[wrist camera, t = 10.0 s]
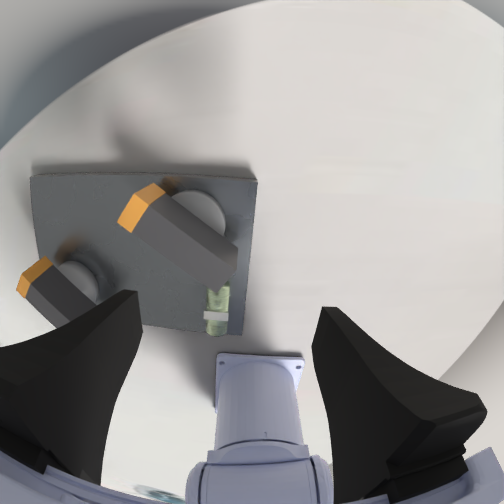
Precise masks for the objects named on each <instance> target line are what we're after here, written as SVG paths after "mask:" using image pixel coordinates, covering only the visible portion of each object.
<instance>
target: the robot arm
mask: <svg viewBox="0 0 504 504" xmlns="http://www.w3.org/2000/svg"><path fill="white" fill-rule="evenodd" d="M142 333H143V329H142V322H141V315H140V307H139V299H138V291H134V290H127V289H123V290H121V291H119V292H118V293H116V294H114V295H113V296H111V297H109V298H108V299H106V300H105V301H103V302H102V303H100V304H99V305H97V306H95V307H94V308H92V309H91V310H89V311H88V312H86V313H84V314H82V315H81V316H79V317H77V318H75V319H74V320H72V321H70V322H69V323H67V324H65V325H63V326H61V327H59V328H57V329H55V330H52V331H50V332H48V333H46V334H43V335H40V336H38V337H35V338H32V339H30V340H27V341H24V342H20V343H17V344H13V345H9V346H5V347H0V504H170V503H164V502H159V501H154V500H150V499H145V498H141V497H137V496H133V495H129V494H125V493H122V492H118V491H115V490H111V489H108V488H105V487H102V486H101V473H102V464H103V456H104V450H105V444H106V439H107V434H108V430H109V425H110V421H111V417H112V413H113V410H114V406H115V402H116V400H117V397H118V394H119V392H120V390H121V387H122V385H123V383H124V380H125V378H126V376H127V374H128V371H129V369H130V367H131V365H132V362H133V360H134V358H135V356H136V353H137V350H138V347H139V344H140V340H141V337H142ZM311 347H312V355H313V362H314V368H315V372H316V376H317V380H318V383H319V387H320V390H321V394H322V398H323V401H324V405H325V409H326V413H327V417H328V423H329V430H330V438H331V448H332V459H333V476H334V477H333V478H334V489H333V482H332V477H331V473H330V469H329V466H328V464H327V462H326V461H325V460H324V459H322V458H321V457H320V456H319V455H313V456H310V455H309V449H308V445H304V441H303V434H302V428H301V422H300V415H299V409H298V403H297V396H296V390H297V387H298V384H299V381H300V378H301V375H302V371H303V368H304V365H305V360H304V358H302V357H279V356H257V355H241V354H228V353H219V354H218V355H217V359H216V398H215V413H216V414H217V422H216V433H215V445H214V450H210V451H208V455H207V462H199V463H197V464H196V466H195V467H194V468H193V469H192V470H191V471H190V473H189V475H188V479H187V483H186V492H185V502H186V504H499V503H500V502H501V501H503V500H504V473H503V471H502V469H501V466H500V464H499V462H498V460H497V458H496V456H495V454H494V452H493V450H492V448H491V447H488V448H486V449H484V450H482V451H481V452H479V453H477V454H475V455H473V456H471V457H470V458H468V459H466V460H465V461H464V458H463V456H462V455H463V454H464V453H465V452H466V449H465V447H464V445H463V444H464V443H465V442H466V440H468V439H469V437H470V436H471V435H472V434H473V433H474V432H475V431H476V430H477V429H478V428H479V427H480V425H481V424H482V423H483V421H484V420H485V418H486V415H487V409H486V408H485V406H484V404H483V403H482V401H481V399H480V398H479V396H478V394H476V393H473V392H469V391H466V390H462V389H459V388H456V387H453V386H451V385H448V384H446V383H443V382H441V381H438V380H436V379H434V378H432V377H430V376H428V375H426V374H424V373H422V372H420V371H418V370H416V369H415V368H413V367H411V366H409V365H408V364H406V363H405V362H403V361H402V360H400V359H399V358H397V357H396V356H394V355H393V354H391V353H390V352H389V351H387V350H386V349H385V348H384V347H382V346H381V345H380V344H378V343H377V342H376V341H375V340H374V339H372V338H371V337H370V336H369V335H368V334H367V333H365V332H364V331H363V330H362V329H361V328H360V327H359V326H358V325H357V324H356V323H354V322H353V321H352V320H351V319H350V318H349V317H348V316H347V315H346V314H345V313H343V312H342V311H341V310H340V309H339V308H337V307H322V310H321V313H320V317H319V321H318V325H317V328H316V332H315V335H314V339H313V342H312V346H311ZM221 361H222V362H221ZM298 365H300V366H298Z"/></svg>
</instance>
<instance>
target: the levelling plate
mask: <svg viewBox="0 0 504 504" xmlns="http://www.w3.org/2000/svg"><path fill="white" fill-rule="evenodd" d="M152 183H155V184H156V185H157V186H159V187H160V188H161V189H163V190H164V191H165V192H166V194H167V195H169V196H170V197H172V196H174V195H175V194H177V193H179V192H182V191H185V190H198V191H202V192H205V193H207V194H209V195H210V196H212V197H213V198H214V199H216V200H217V202H218V203H219V204H220V206H221V207H222V209H223V212H224V214H225V220H226V226H225V232H224V236H223V237H224V238H226V239H227V240H228V241H230V242H231V243H232V244H233V245H235V246H236V247H237V248H238V258H237V270H236V272H235V273H234V274H233V275H232V276H231V277H230V279H229V280H228V281H227V282H226V283H225V284H224V285H223V286H222V288H221V289H220V290H219V291H218V292H217V293H215V292H213V291H212V290H211V289H209V288H208V287H206V286H205V285H203V284H202V283H201V282H199V281H198V280H196V279H195V278H193V277H192V276H191V275H189V274H188V273H186V272H185V271H184V270H182V269H181V268H179V267H178V266H177V265H175V264H174V263H173V262H171V261H170V260H168V259H167V258H166V257H164V256H163V255H162V254H160V253H159V252H158V251H156V250H155V249H153V248H152V247H151V246H149V245H148V244H147V243H145V242H144V241H143V240H141V239H140V238H139V237H138V236H136V235H135V234H134V233H132V232H131V233H130V232H129V231H128V230H126V229H125V228H124V227H122V226H121V225H120V224H119V223H117V221H118V219H119V217H120V216H121V214H122V212H123V211H124V209H125V207H126V206H127V204H128V202H129V201H130V199H131V197H132V196H133V194H134V193H136V192H138V191H139V190H141V189H143V188H145V187H147V186H148V185H150V184H152ZM257 185H258V181H257V179H246V178H234V177H221V176H207V175H189V174H167V173H124V172H103V173H61V174H41V175H36V176H32V177H30V190H31V203H32V212H33V221H34V229H35V236H36V242H37V248H38V254H39V259H41V258H43V257H44V256H46V257H47V258H48V259H49V260H50V261H51V262H52V263H53V265H54V266H55V267H56V268H58V267H59V266H60V265H61V264H63V263H64V262H66V261H76V262H79V263H81V264H83V265H84V266H86V267H87V268H88V269H89V270H90V271H91V272H92V274H93V275H94V277H95V278H96V280H97V283H98V286H99V298H98V301H97V302H96V305H99V304H100V303H102V302H103V301H105V300H106V299H108V298H109V297H111V296H113V295H114V294H116V293H118V292H119V291H121V290H123V289H127V290H134V291H138V299H139V307H140V315H141V322H142V324H143V325H150V326H157V327H164V328H172V329H180V330H189V331H198V332H207V333H208V334H209V335H211V336H222V335H224V334H229V335H242V330H243V320H244V310H245V301H246V291H247V281H248V271H249V262H250V252H251V242H252V233H253V223H254V213H255V204H256V194H257Z"/></svg>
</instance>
